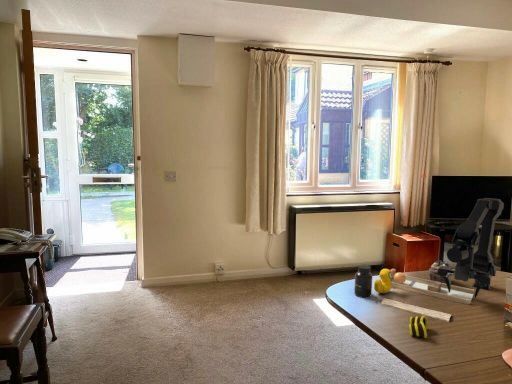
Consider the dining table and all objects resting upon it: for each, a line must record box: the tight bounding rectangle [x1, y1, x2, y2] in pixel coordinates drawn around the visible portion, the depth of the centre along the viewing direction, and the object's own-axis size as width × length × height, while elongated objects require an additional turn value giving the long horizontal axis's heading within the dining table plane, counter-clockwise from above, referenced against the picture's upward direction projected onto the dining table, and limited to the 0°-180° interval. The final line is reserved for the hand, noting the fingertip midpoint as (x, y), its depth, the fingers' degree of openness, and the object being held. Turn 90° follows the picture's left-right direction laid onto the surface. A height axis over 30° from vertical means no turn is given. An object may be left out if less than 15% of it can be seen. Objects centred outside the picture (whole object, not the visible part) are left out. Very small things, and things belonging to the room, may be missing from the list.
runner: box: [391, 279, 475, 303], centre depth 156 cm, size 12×32×1 cm, turn 53°
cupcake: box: [428, 259, 453, 284], centre depth 166 cm, size 10×10×10 cm
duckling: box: [373, 268, 394, 294], centre depth 153 cm, size 11×5×10 cm, turn 125°
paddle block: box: [428, 281, 441, 293], centre depth 155 cm, size 8×3×4 cm
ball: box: [394, 271, 406, 284], centre depth 163 cm, size 5×5×5 cm
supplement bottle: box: [353, 264, 373, 299], centre depth 150 cm, size 7×7×12 cm
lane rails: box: [389, 268, 475, 305], centre depth 157 cm, size 14×34×4 cm, turn 53°
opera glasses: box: [408, 315, 429, 339], centre depth 120 cm, size 10×5×5 cm, turn 153°
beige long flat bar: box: [380, 298, 452, 323], centre depth 137 cm, size 24×7×2 cm, turn 54°
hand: (462, 295), depth 149 cm, fingers open, 9 cm apart
